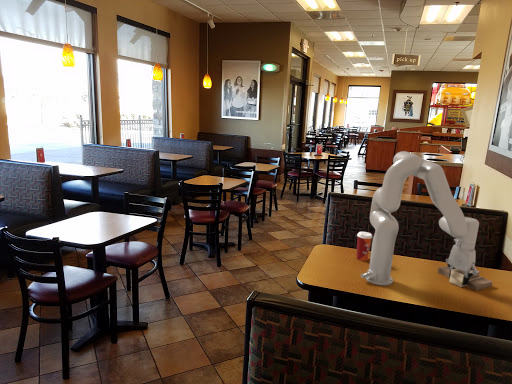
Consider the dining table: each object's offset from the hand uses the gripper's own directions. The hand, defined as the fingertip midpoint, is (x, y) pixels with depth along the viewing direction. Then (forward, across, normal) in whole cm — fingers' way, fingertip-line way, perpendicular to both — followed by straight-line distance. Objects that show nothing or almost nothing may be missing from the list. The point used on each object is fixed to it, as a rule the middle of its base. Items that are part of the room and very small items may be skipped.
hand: (458, 281), depth 171 cm
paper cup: (+2, -40, -22) cm, 45 cm away
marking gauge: (+1, 0, +5) cm, 6 cm away
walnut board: (+2, -2, +8) cm, 8 cm away
